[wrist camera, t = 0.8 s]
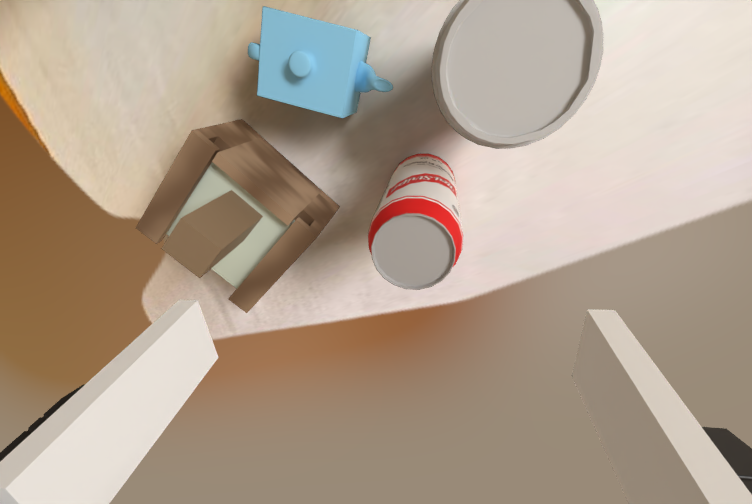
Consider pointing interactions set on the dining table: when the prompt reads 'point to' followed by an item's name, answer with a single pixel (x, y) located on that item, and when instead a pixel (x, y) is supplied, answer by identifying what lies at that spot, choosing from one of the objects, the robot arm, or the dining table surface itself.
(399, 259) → the beer can
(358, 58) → the teapot
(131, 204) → the dining table surface
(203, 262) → the lid
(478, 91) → the disposable coffee cup
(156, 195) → the box
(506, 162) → the dining table surface
